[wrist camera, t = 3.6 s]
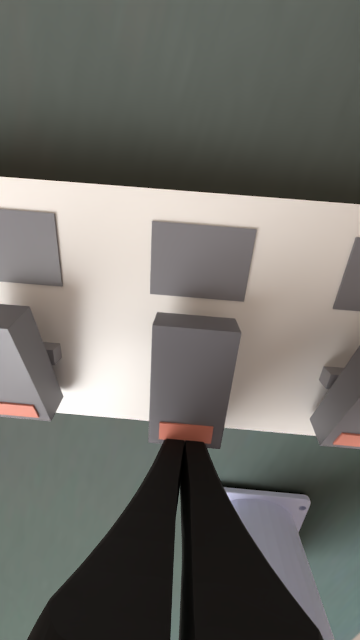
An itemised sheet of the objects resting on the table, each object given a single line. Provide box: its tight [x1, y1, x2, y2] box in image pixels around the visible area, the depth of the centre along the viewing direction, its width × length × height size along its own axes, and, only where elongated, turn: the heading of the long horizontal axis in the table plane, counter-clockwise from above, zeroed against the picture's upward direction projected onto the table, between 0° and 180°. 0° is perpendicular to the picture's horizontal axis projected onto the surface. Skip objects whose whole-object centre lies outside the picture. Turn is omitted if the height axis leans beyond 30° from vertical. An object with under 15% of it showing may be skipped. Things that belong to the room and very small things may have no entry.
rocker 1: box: [0, 304, 64, 421], centre depth 9 cm, size 5×3×1 cm, turn 176°
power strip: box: [0, 177, 360, 436], centre depth 11 cm, size 10×28×4 cm, turn 86°
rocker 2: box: [148, 312, 241, 449], centre depth 9 cm, size 5×3×1 cm, turn 176°
